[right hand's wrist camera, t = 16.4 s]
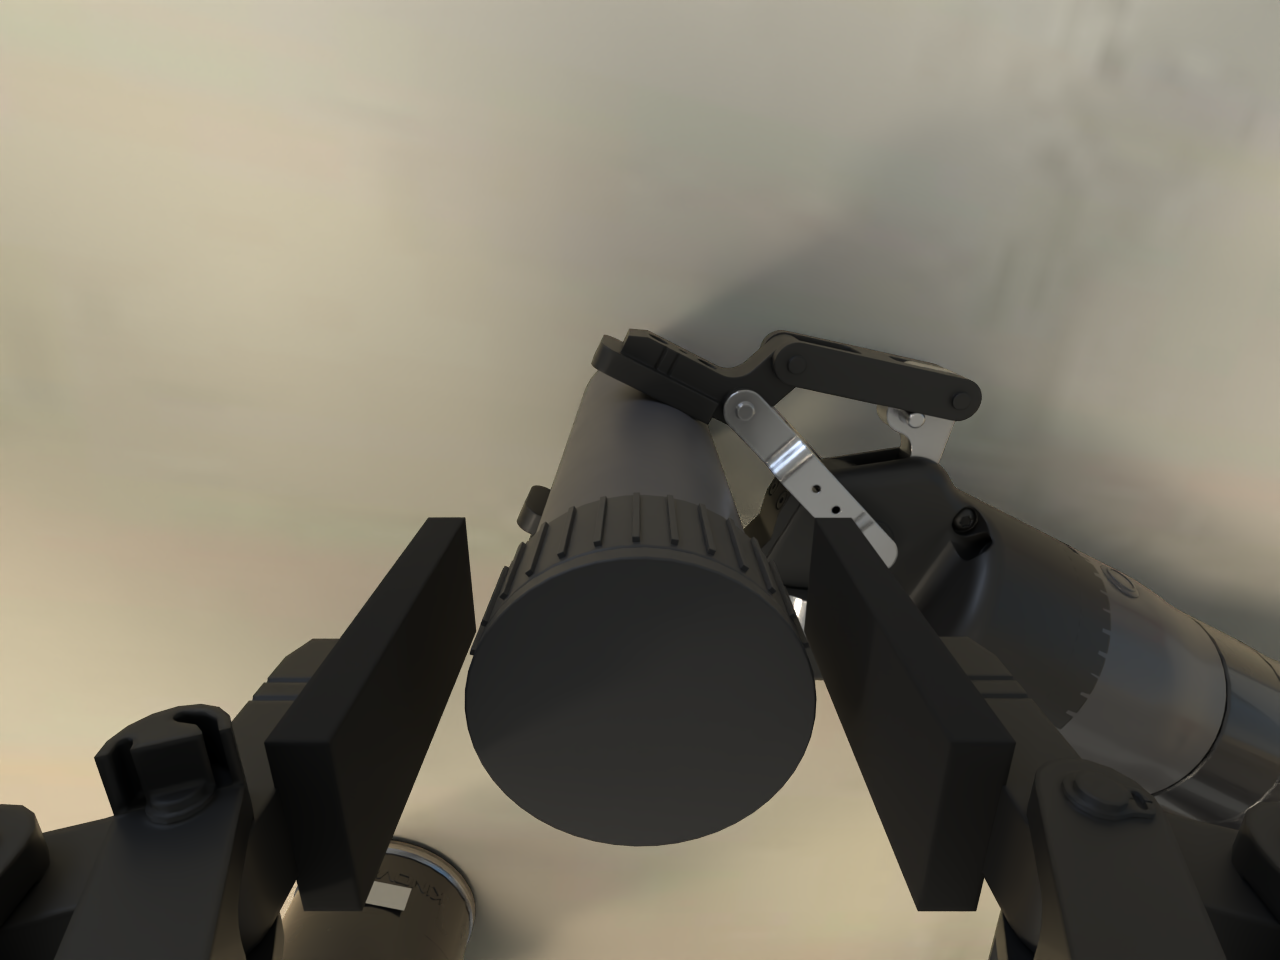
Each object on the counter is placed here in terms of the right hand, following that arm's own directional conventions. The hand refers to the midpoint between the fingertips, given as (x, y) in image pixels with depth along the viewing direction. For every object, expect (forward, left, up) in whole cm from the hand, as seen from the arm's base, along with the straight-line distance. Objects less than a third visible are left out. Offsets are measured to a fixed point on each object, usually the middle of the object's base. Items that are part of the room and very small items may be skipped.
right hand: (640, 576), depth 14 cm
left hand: (-1, +2, -7) cm, 8 cm away
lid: (0, 0, +4) cm, 4 cm away
